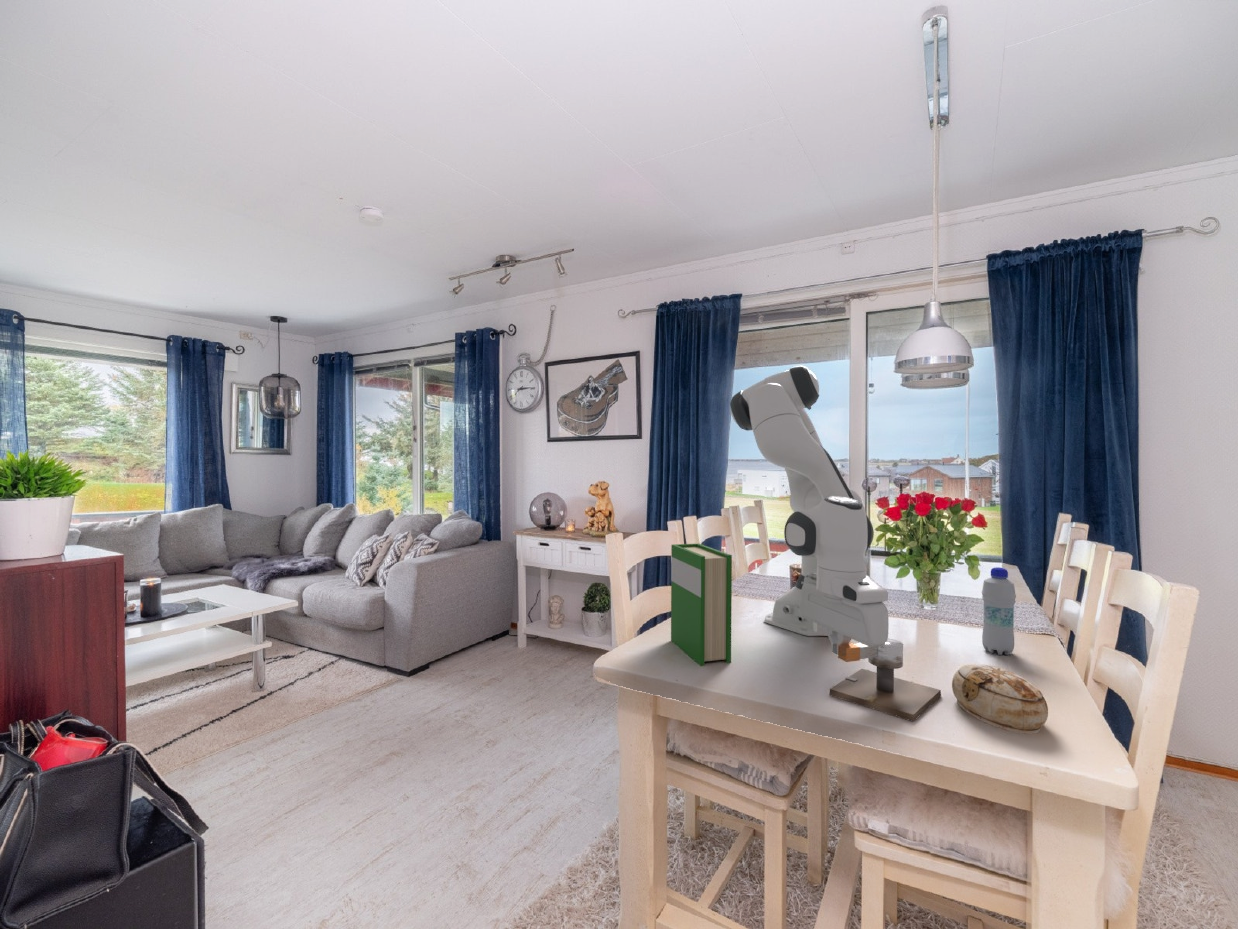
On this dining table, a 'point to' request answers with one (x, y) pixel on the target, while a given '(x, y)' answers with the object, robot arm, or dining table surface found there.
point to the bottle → (998, 612)
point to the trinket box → (1000, 698)
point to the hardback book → (701, 602)
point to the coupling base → (886, 693)
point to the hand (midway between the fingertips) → (838, 654)
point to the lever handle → (874, 653)
